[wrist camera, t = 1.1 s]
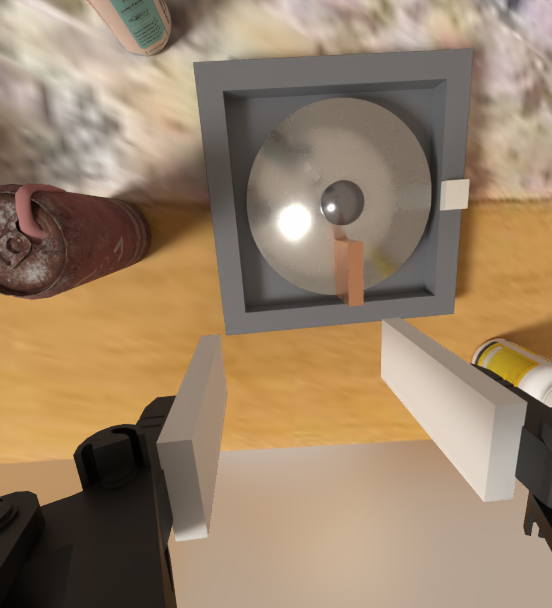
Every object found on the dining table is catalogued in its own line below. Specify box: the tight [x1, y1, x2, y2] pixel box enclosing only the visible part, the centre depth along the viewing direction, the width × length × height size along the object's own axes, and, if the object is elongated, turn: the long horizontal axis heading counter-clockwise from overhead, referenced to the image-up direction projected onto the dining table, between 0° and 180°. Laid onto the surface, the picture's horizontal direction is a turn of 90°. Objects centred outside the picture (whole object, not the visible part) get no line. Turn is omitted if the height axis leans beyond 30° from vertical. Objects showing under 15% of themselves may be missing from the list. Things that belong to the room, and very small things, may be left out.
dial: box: [247, 98, 431, 307], centre depth 26 cm, size 16×16×6 cm
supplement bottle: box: [472, 338, 552, 407], centre depth 32 cm, size 5×5×10 cm
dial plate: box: [193, 49, 473, 335], centre depth 29 cm, size 22×22×4 cm
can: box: [0, 184, 151, 300], centre depth 23 cm, size 6×6×14 cm
